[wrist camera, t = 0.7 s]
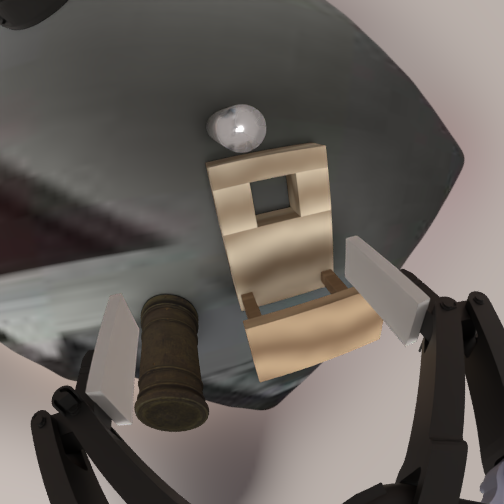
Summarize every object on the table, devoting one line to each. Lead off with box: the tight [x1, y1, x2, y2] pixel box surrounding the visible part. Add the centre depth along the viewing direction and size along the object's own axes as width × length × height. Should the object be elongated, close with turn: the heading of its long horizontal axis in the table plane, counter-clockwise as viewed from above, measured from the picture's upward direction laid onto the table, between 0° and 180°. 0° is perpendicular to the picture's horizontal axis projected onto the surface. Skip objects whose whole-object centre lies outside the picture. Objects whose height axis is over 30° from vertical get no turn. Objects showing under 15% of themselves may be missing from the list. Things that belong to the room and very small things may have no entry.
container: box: [134, 295, 209, 432], centre depth 34 cm, size 9×9×18 cm
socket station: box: [205, 143, 383, 382], centre depth 31 cm, size 20×15×16 cm
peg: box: [206, 104, 266, 153], centre depth 26 cm, size 4×4×12 cm
